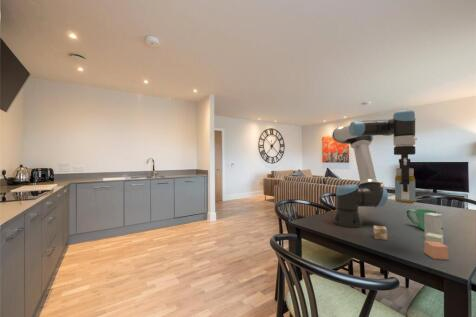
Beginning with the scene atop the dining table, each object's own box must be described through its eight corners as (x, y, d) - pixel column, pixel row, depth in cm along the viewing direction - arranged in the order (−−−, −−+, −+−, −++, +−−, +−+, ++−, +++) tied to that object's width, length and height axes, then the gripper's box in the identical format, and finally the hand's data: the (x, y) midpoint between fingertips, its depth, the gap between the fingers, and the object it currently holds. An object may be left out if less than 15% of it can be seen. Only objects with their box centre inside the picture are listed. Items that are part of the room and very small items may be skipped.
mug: (443, 231, 110) (443, 212, 110) (432, 234, 107) (432, 214, 107) (412, 223, 124) (412, 206, 124) (401, 225, 121) (401, 208, 121)
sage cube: (425, 246, 93) (425, 235, 93) (428, 243, 96) (428, 232, 96) (441, 250, 89) (441, 238, 89) (443, 246, 92) (443, 235, 92)
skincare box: (434, 241, 98) (433, 215, 98) (423, 237, 102) (423, 213, 102) (444, 239, 99) (443, 214, 99) (433, 236, 104) (433, 212, 104)
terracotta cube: (433, 258, 82) (433, 246, 82) (424, 253, 87) (424, 241, 87) (448, 259, 81) (448, 247, 81) (438, 254, 86) (438, 241, 86)
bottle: (391, 200, 96) (390, 168, 96) (405, 200, 97) (404, 167, 96) (404, 204, 89) (404, 169, 89) (419, 203, 90) (419, 168, 89)
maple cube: (374, 238, 103) (374, 228, 103) (373, 235, 107) (373, 225, 107) (387, 240, 101) (387, 229, 100) (385, 236, 105) (385, 226, 105)
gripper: (417, 144, 83) (418, 202, 83) (413, 146, 98) (414, 195, 98) (393, 145, 87) (394, 200, 87) (393, 146, 102) (394, 193, 102)
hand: (404, 197), depth 93 cm, fingers closed on bottle, 6 cm apart
